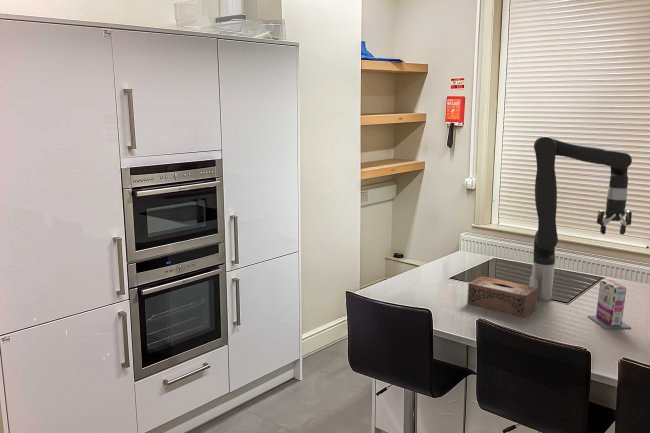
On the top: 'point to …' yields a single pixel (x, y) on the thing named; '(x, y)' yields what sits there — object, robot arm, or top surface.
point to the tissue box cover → (502, 296)
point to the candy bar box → (611, 302)
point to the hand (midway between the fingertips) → (612, 234)
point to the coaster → (605, 325)
